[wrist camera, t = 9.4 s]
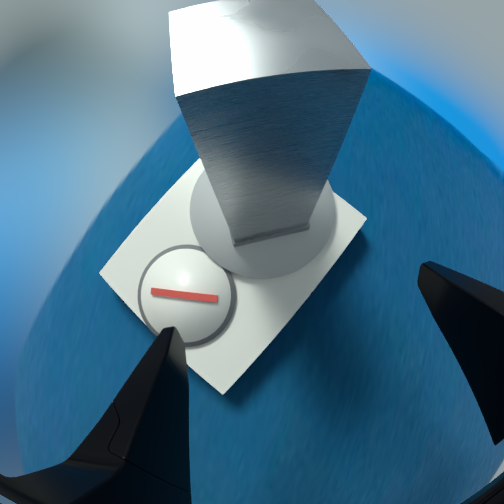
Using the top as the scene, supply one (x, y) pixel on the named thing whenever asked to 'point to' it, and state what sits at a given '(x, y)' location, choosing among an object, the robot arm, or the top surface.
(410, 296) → the top surface
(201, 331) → the scale
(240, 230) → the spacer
